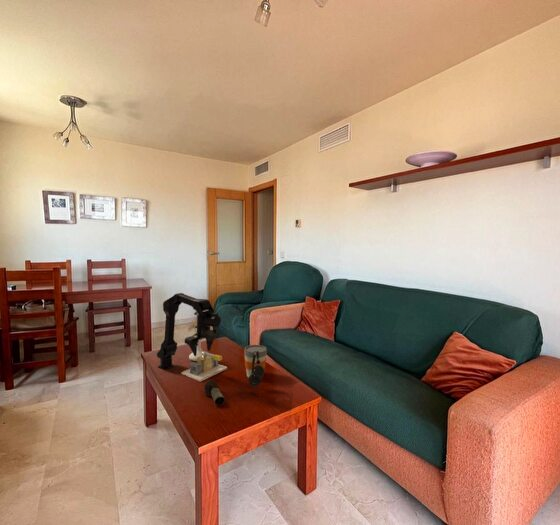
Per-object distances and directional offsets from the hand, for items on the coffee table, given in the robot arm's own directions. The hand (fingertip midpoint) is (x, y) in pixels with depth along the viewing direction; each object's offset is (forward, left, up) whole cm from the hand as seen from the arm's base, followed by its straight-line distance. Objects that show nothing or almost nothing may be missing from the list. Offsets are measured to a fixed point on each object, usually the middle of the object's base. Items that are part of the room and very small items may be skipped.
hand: (202, 353), depth 153 cm
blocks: (-7, +8, -14) cm, 18 cm away
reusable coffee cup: (+19, +21, -15) cm, 32 cm away
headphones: (+29, +5, -15) cm, 33 cm away
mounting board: (-7, +8, -14) cm, 18 cm away
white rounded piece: (-23, +17, -15) cm, 33 cm away
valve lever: (-2, +9, -6) cm, 11 cm away
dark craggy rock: (+17, -8, -15) cm, 24 cm away
